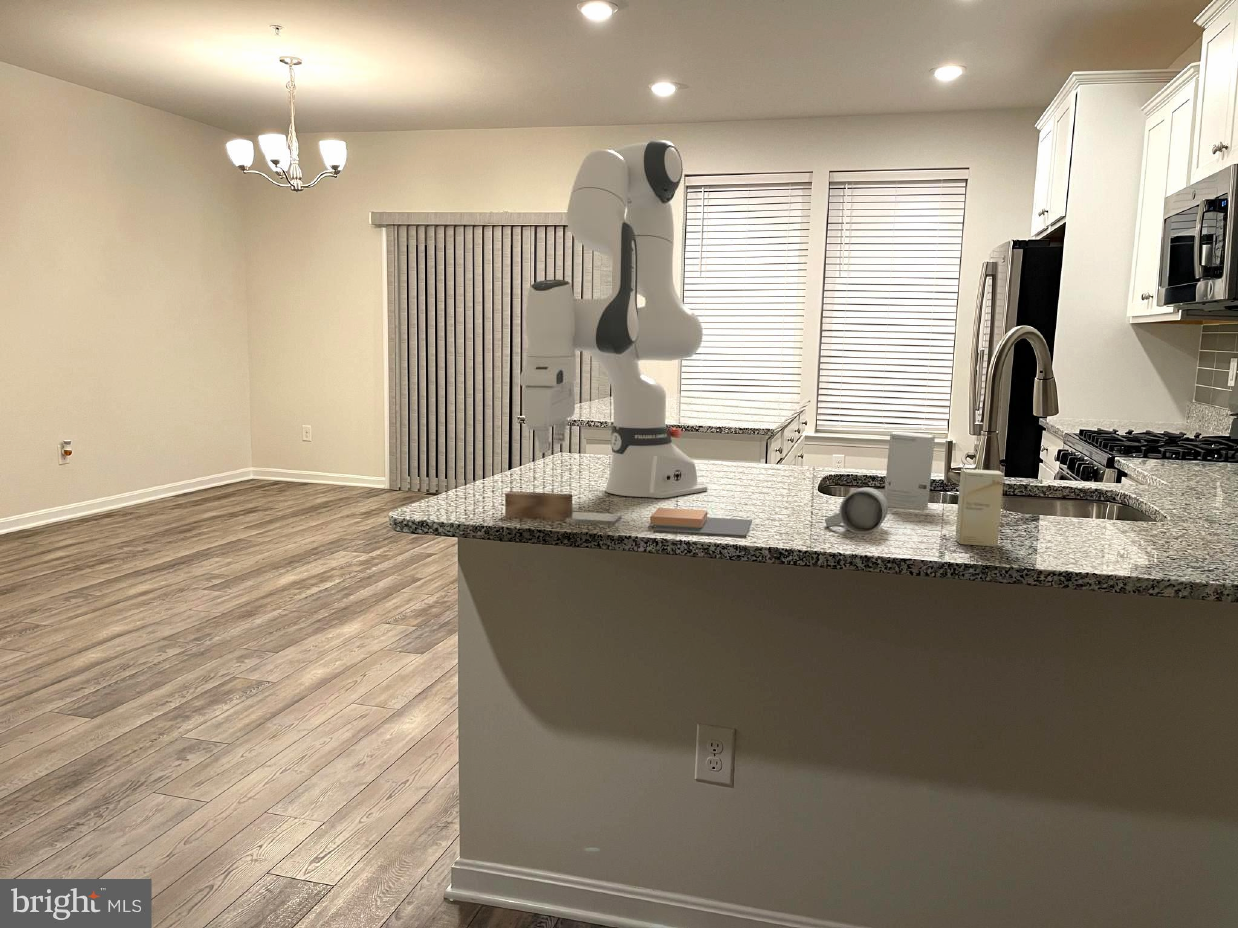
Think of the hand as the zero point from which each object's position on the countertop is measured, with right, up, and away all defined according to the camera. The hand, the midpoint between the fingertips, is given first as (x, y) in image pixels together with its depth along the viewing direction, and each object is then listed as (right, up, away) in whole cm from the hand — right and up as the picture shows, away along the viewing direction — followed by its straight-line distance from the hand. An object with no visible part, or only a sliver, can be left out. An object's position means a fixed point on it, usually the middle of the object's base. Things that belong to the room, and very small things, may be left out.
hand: (552, 447), depth 165 cm
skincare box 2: (+72, -16, -14) cm, 75 cm away
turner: (+2, -13, +1) cm, 13 cm away
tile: (+19, -12, -3) cm, 23 cm away
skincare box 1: (+70, -12, +16) cm, 73 cm away
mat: (+27, -14, -5) cm, 31 cm away
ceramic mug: (+54, -15, -5) cm, 56 cm away
